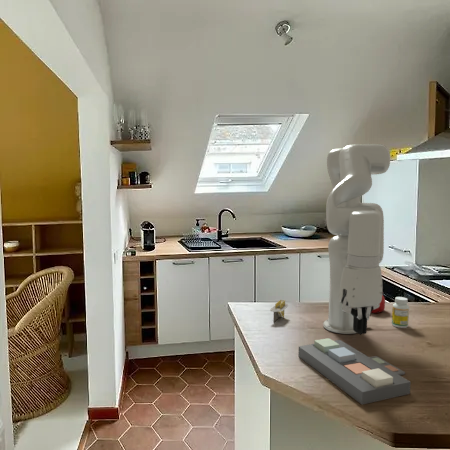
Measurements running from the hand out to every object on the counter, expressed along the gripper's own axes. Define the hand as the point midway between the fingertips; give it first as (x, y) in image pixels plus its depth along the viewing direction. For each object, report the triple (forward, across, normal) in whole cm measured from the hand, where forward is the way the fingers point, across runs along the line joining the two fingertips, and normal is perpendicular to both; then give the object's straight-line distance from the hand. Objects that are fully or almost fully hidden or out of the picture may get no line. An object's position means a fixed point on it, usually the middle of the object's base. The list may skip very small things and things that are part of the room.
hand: (359, 332), depth 112 cm
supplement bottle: (+13, -39, -27) cm, 49 cm away
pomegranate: (+14, -41, -44) cm, 61 cm away
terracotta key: (+12, 0, 0) cm, 12 cm away
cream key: (+11, 0, +7) cm, 13 cm away
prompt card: (+12, -11, -3) cm, 17 cm away
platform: (+14, -3, -47) cm, 49 cm away
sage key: (+11, 0, -14) cm, 17 cm away
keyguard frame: (+12, 0, -3) cm, 13 cm away
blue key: (+11, 0, -7) cm, 13 cm away
